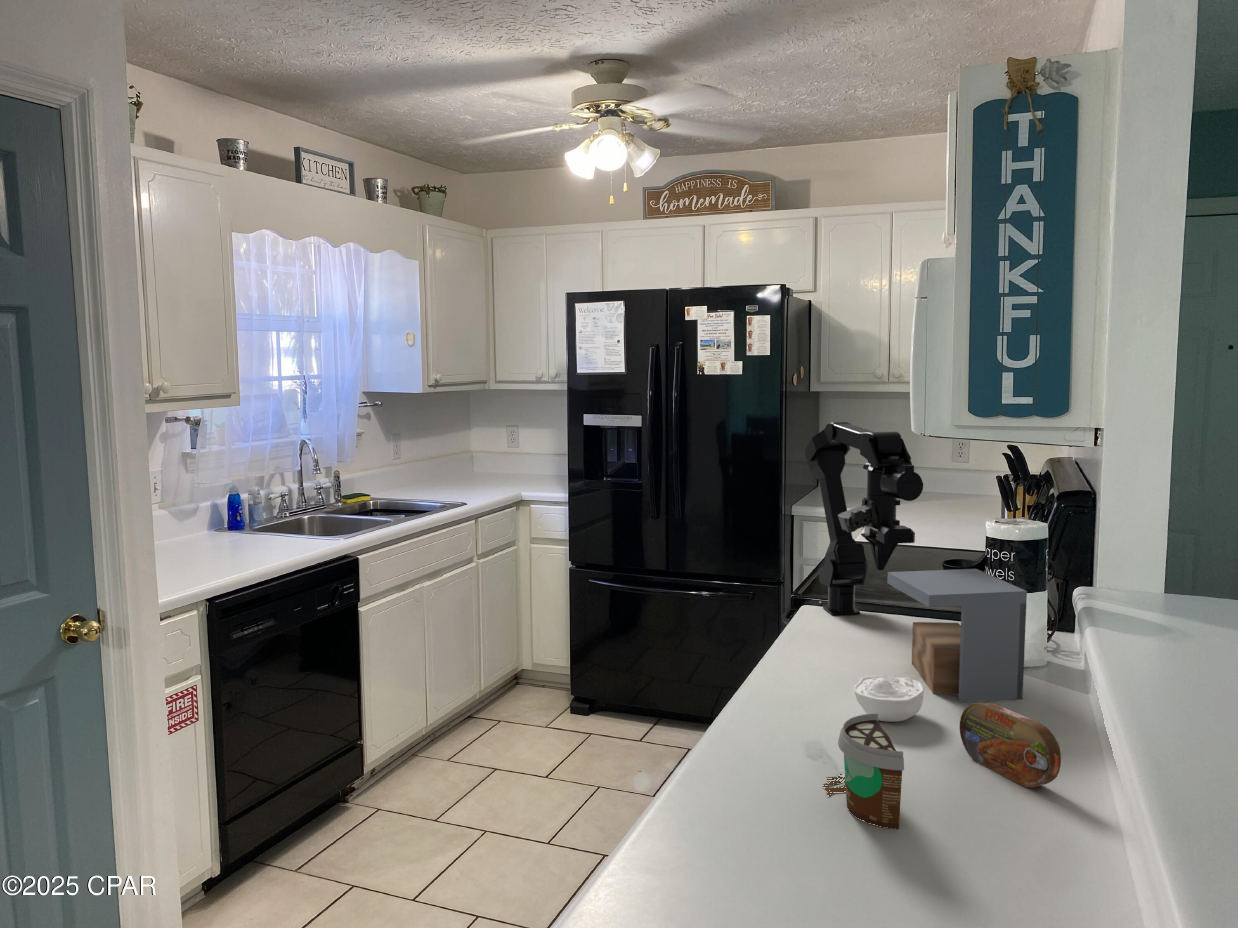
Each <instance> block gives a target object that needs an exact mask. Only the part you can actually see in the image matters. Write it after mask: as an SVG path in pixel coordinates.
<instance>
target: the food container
mask: <svg viewBox="0 0 1238 928" xmlns="http://www.w3.org/2000/svg"><path fill="white" fill-rule="evenodd" d="M837 745H838V748H839V750H840V751H841V752H842V753H843V762H844V763H843V764H844V774H845V784H846V793H845V798H846V808H848V809H849V810H848V809H847V810H848V812H849V811H850V812H851V813H852V814H853V815H854V816H856V817H857V818H859V819H861V820H864V821H865V822H867V823H866V824H868V823H871V824H875V825H878V826H881V827H880V828H883V827H888V828H887V829H890V828H893V829H894V830H896V829H897V830H899V829H900V818H901V817H900V815H901V801H902V800H901V797H902V782H903V771H905V760H904V759H905V758H904V751H902V750H897V749H896V748H895V746H894V744H893V742H892V740H891V738H890V736H889V735H888V733H887V732H886V731H885V730H884V729H883V728H882V726H881V725H880V723H879V720H878V714H867V713H864V714H859V715H856V716H854V717H851V718H849V719H847V720H846V721H845V722H844V723H843V725H842V727H841V730H840V733H839V737H838V740H837ZM850 812H849V813H850ZM851 813H850V814H851ZM852 814H851V815H852ZM853 815H852V816H853ZM854 816H853V817H854ZM856 817H855V818H856ZM857 818H856V819H857ZM859 819H858V820H859ZM861 820H860V821H861ZM865 822H864V823H865ZM871 824H870V825H871ZM878 826H877V827H878ZM895 828H896V829H895Z"/></svg>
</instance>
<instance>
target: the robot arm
mask: <svg viewBox="0 0 1238 928" xmlns="http://www.w3.org/2000/svg"><path fill="white" fill-rule="evenodd" d="M851 448H855V449H857V450H858V451H859V454H860V456H862V457H863V458H864V459H866V461H867V462H866V463H865V464H864V465H863V466H862V468H863V470H866V472H867V474H866V475H867V476H866V477H867V479H866V480H867V482H866V497H863V498H862V499H861V505H860V506H856V507H853V508H851V509H848V507H847V503H846V496H845V492H844V487H843V480H842V473H843V471H844V468H845V466H846V457H847V455H848V453H849V452H850V450H851ZM907 448H908V447H906V443H905V442H904V438H902V435H901V434H900V432H898V431H873V430H869V429H866V428H863V427H861V426H856V425H855V424H851V423H850V422H848V421H839V422H834V421H833V422H830V423H827V424H826V426H825V427H824V429H823V430H821V431H819V432H818V433H817V434H815V435H814V436H812V437H811V438H810V440H809V442H808V444H807V446H806V447H805V449H804V455H805V460H806V462H807V464H808V467H809V468H808V469H809V471H810V472H811V473H812V474H813V475H814V477H815V478H816V479H817V480H818V482H819V488H820V494H821V498H822V505H823V509H824V515H825V520H826V524H827V525H826V526H827V531H828V537H829V545H828V547H827V550H826V552H825V555H824V556H825V558H824V559H825V563H824V564H823V566H822V568H821V569H820V571H819V572H818V580H819V583H820V584H822V585H824V586H825V587H827V592H828V593H827V595H828V597H827V598H828V599H827V604H823V605H822V608H823V609H824V610H825V611H827V612H828V613H829V614H830V615H833V616H840V615H842V616H845V615H860V614H861V611H860V610H859V609H858V608H856V607H855V606H856V605H855V603H856V601H855V599H856V598H855V596H856V595H855V593H856V586H864V585H865V580H866V577H867V573H868V568H869V567H868V562H867V558H866V555H865V547H864V544H862V543H860V542H859V543H857V541H856V540H855V539H854V538H853V533H854V532H856V531H857V530H859V529H861V528H864V533H862V532H861V533H860V536H861V537H863V538H864V540H866V541H867V542H868V543H869V546H870V548H871V552H872V555H873V560H874V564H875V567H876V570H878V571H884V569H885V568H886V566H887V564H888V562H889V560H890V558H891V556H892V554H893V553H894V551H895V550H896V548H897V546H898V545H899V544H914V543H915V541H916V532H915V531H914V530H913V529H912V528H911V527H907V526H906V525H904V524H903V525H900V524H901V520H899V519H897V506H901V501H906V502H912V501H915V500H916V499H918V498H919V497H920V496H921V494H922V493H923V490H924V482H923V479H922V477H921V476H920V475H919V473H917V472H916V471H915V466H914V465H913V464H912V460H911V459H912V457H911V455H910V453H909V451H908V449H907Z"/></svg>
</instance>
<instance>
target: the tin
mask: <svg viewBox="0 0 1238 928" xmlns="http://www.w3.org/2000/svg"><path fill="white" fill-rule="evenodd" d="M959 735H960V739H961V742H962V745H963V747H964V749H965V751H966V753H967V754H968V755H969V756H970V758H971V759H972V760H973V761H974V762H976V763H977V764H979V765H981V766H983V767H984V768H986V769H989V770H991V771H993V772H994V773H996V774H999V775H1000V776H1002V777H1004V778H1006V779H1008V780H1010V781H1012V782H1014V783H1016V784H1018V785H1020V786H1022V787H1025V788H1031V789H1032V788H1037V787H1039V786H1043V785H1047V784H1049V783H1052V782H1053V781H1054V780H1056V779H1057V777H1058V775H1059V774H1060V773H1059V772H1060V770H1061V762H1062V760H1061V759H1062V758H1061V757H1062V755H1061V748H1060V745H1059V743H1058V741H1057V739H1056V737H1055V735H1054V734H1053V733H1052V732H1051V730H1050V729H1049V728H1048V727H1046V725H1044V724H1043V723H1041V722H1039V721H1037V720H1035V719H1033V718H1029V717H1028V716H1025V715H1022V714H1021V713H1018V712H1016V711H1013V710H1011V709H1008V708H1006V707H1003V706H1001V705H999V704H997V703H992V702H983V703H980V702H978V703H976V702H975V703H972V704H970V705H968V706H967V707H965V708H964V710H963V712H962V713H961V715H960V719H959Z"/></svg>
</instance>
